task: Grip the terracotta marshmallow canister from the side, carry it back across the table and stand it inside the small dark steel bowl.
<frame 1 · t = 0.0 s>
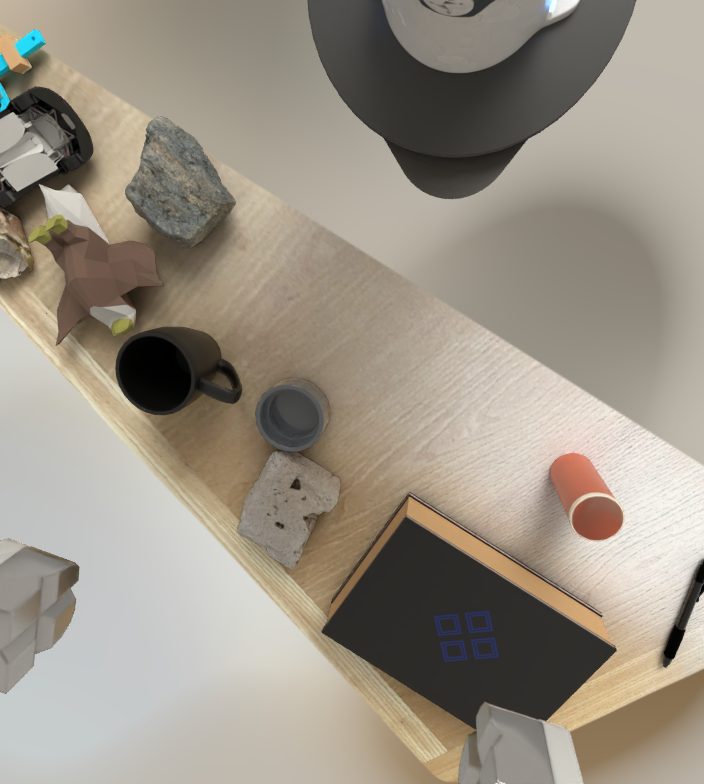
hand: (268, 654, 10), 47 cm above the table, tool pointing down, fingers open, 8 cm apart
rock: (189, 187, 56), on the table
mug: (214, 360, 60), on the table
bowl: (297, 409, 60), on the table
canister: (571, 472, 57), on the table
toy: (22, 197, 52), point 7 cm above the table
stone: (294, 499, 63), on the table
pen: (692, 619, 58), point 1 cm above the table
toy car: (14, 153, 53), point 4 cm above the table
book: (460, 600, 63), on the table
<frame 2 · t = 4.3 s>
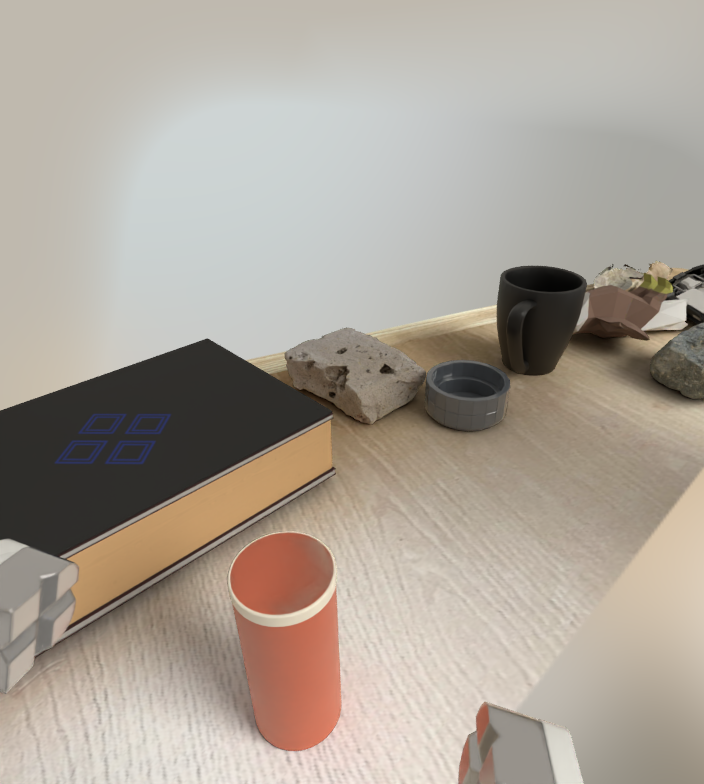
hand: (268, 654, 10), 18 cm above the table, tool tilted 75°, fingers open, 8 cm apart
stone fragment: (618, 269, 74), point 3 cm above the table
mug: (521, 371, 57), on the table
bowl: (464, 411, 51), on the table
canister: (298, 704, 28), on the table
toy: (683, 275, 62), point 7 cm above the table
stone: (351, 393, 54), on the table
book: (134, 507, 40), on the table
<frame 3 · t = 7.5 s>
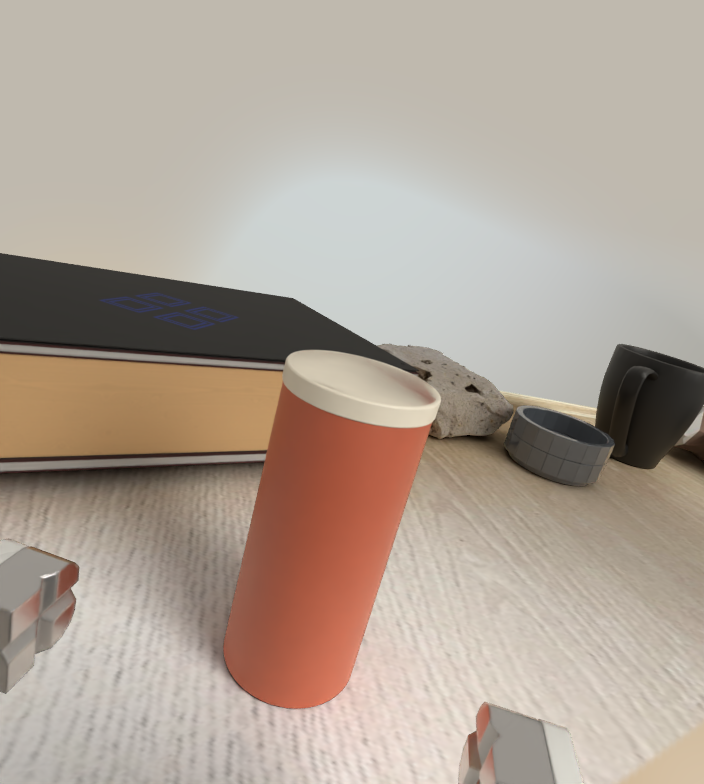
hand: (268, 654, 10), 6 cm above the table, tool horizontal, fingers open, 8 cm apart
mug: (615, 459, 49), on the table
bowl: (548, 465, 42), on the table
canister: (288, 651, 18), on the table
stone: (421, 414, 47), on the table
book: (154, 411, 34), on the table
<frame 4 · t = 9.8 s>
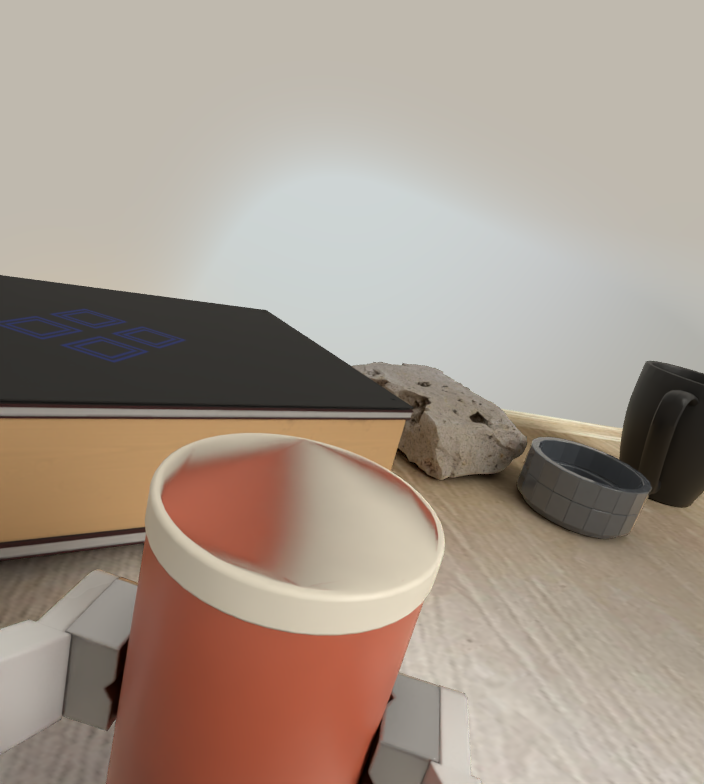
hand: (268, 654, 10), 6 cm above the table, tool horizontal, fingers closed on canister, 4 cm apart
mug: (644, 495, 42), on the table
bowl: (569, 509, 35), on the table
stone: (418, 444, 40), on the table
book: (81, 459, 27), on the table
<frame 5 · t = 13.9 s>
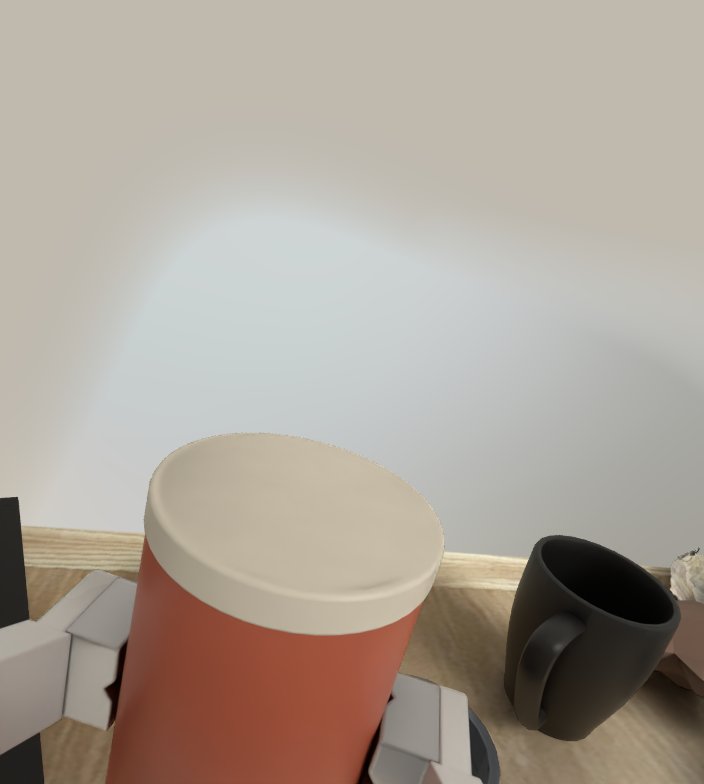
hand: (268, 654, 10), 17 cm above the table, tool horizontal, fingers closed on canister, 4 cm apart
mug: (531, 717, 33), on the table
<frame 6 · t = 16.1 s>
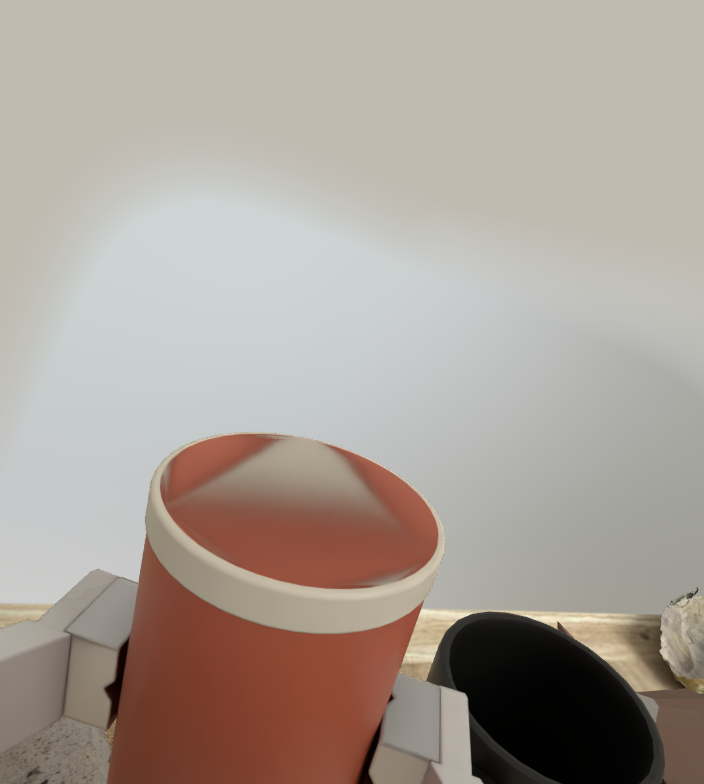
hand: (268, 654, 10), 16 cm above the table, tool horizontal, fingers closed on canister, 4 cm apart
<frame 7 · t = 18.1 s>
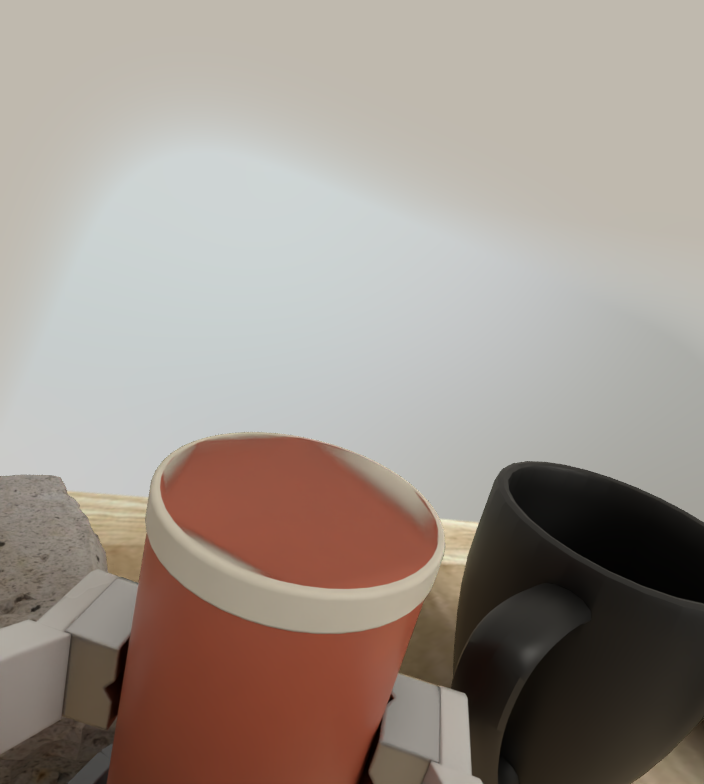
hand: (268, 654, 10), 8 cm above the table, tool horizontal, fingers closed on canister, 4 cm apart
mug: (495, 774, 19), on the table
when the fingers open (6 cm above the table, at t = 19.0 s): canister stays where it is, resting on bowl.
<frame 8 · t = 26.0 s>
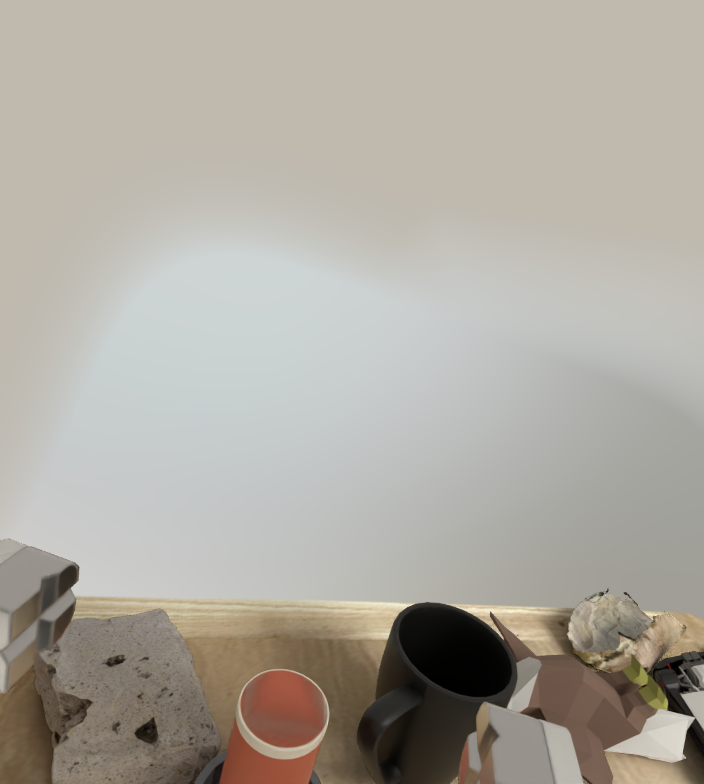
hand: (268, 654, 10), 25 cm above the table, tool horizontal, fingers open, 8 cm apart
stone fragment: (609, 609, 54), point 3 cm above the table
mug: (395, 772, 36), on the table
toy: (689, 681, 41), point 7 cm above the table
stone: (112, 728, 34), on the table
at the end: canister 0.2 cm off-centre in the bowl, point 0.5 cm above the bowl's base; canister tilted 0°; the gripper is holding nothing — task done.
